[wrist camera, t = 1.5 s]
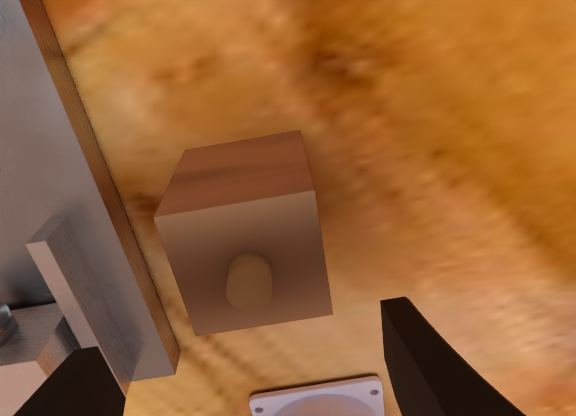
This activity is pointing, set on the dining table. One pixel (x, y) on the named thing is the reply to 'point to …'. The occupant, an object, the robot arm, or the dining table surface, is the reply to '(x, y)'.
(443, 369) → the robot arm
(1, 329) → the ram
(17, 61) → the press frame
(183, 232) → the block
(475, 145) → the dining table surface
